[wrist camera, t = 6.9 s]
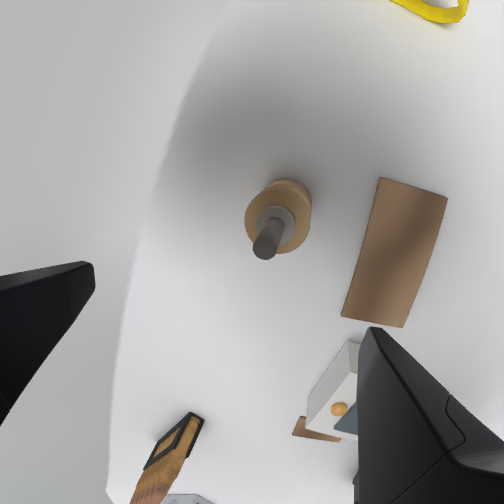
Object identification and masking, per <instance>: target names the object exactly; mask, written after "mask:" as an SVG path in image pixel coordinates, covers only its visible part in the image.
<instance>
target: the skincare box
mask: <svg viewBox="0 0 504 504" xmlns="http://www.w3.org/2000/svg"><path fill="white" fill-rule="evenodd" d="M160 504H213V503H211V502H209V501H207V500H206V499H204V498H202V497H200V496H199V495H197V494H187V495H166V496H165V498H164V499H163V501H162V502H161V503H160Z"/></svg>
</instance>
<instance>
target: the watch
mask: <svg viewBox="0 0 504 504" xmlns="http://www.w3.org/2000/svg"><path fill="white" fill-rule="evenodd" d="M391 1H393V2H395V3H397V4H399V5H401V6H403V7H405V8H407V9H409V10H410V11H412V12H414V13H416V14H418V15H419V16H421V17H423V19H424V20H425V19H426V20H429V21H433V22H438V23H442V24H443V23H444V24H447V23H457V22H459V21H460V20H461V19H462V18H463V17H464V16H465V14H466V11H467V7H468V4H469V0H458V5H459V6H458V7H453V8H447V9H445V8H440V7H436V6H431V5H429V4H427V3H425V2H423V1H422V0H391Z"/></svg>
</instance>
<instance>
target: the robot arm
mask: <svg viewBox="0 0 504 504" xmlns="http://www.w3.org/2000/svg"><path fill="white" fill-rule="evenodd" d="M94 290H95V276H94V268H93V265H92V264H91V263H89V262H85V261H79V262H73V263H67V264H62V265H56V266H51V267H46V268H40V269H35V270H29V271H24V272H19V273H14V274H9V275H3V276H0V426H1V424H2V423H3V421H4V420H5V418H6V416H7V415H8V413H9V412H10V409H11V408H12V407H13V405H14V404H15V402H16V401H17V399H18V397H19V396H20V394H21V393H22V392H23V390H24V389H25V387H26V386H27V384H28V383H29V382H30V380H31V379H32V377H33V376H34V374H35V373H36V372H37V370H38V369H39V367H40V366H41V365H42V363H43V362H44V361H45V359H46V358H47V357H48V355H49V354H50V353H51V351H52V350H53V349H54V347H55V346H56V345H57V343H58V342H59V341H60V339H61V338H62V337H63V336H64V334H65V333H66V332H67V330H68V329H69V328H70V326H71V325H72V324H73V323H74V321H75V320H76V318H77V317H78V315H79V313H80V312H81V310H82V309H83V307H84V306H85V304H86V303H87V301H88V300H89V298H90V297H91V295H92V294H93V292H94ZM356 405H357V424H358V457H359V474H358V475H357V476H356V478H355V479H354V480H353V484H354V504H504V441H503V440H501V439H500V438H499V437H498V436H497V435H496V434H494V433H493V432H492V431H491V430H490V429H489V428H487V427H486V426H485V425H484V424H483V423H481V422H480V421H479V420H478V419H477V418H476V417H475V416H474V415H472V414H471V413H470V412H469V411H468V410H467V409H466V408H465V407H464V406H463V405H462V404H461V403H460V402H458V401H457V400H456V399H455V398H454V397H453V396H452V395H451V394H449V392H448V391H447V390H446V389H445V388H444V387H443V386H442V385H441V384H440V383H439V382H438V381H437V380H436V379H435V378H434V377H433V376H432V375H431V374H430V373H429V372H428V371H427V370H426V369H425V368H424V367H423V366H422V365H421V364H419V363H418V362H417V361H416V360H415V359H414V358H413V357H412V356H411V355H410V354H409V353H408V352H407V351H406V350H405V349H404V348H403V347H402V346H401V345H399V344H398V343H397V342H396V341H395V340H394V339H393V338H392V337H391V336H390V335H389V334H388V333H387V332H386V331H385V330H383V329H382V328H378V327H369V328H368V329H367V331H366V334H365V336H364V339H363V341H362V344H361V346H360V349H359V352H358V371H357V390H356Z"/></svg>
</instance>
